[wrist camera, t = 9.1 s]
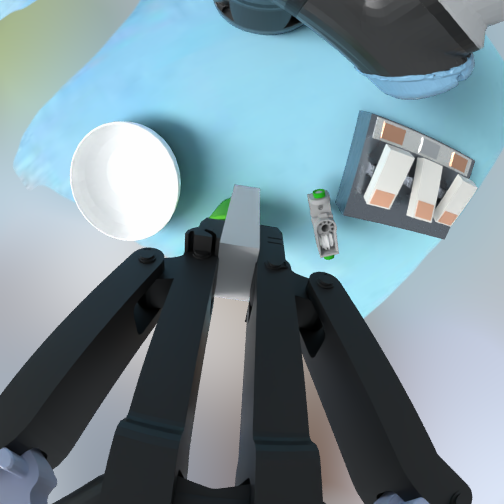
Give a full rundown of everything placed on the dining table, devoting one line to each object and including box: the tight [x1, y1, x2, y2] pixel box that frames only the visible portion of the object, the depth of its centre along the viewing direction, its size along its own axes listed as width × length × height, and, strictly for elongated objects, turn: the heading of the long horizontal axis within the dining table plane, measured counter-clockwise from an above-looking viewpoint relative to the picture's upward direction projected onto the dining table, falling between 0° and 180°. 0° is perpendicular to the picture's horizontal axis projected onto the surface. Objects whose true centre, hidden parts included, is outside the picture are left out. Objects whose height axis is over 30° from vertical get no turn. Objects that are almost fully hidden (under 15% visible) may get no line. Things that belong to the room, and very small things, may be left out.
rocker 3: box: [433, 174, 478, 227], centre depth 34 cm, size 9×4×2 cm, turn 170°
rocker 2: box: [406, 158, 443, 223], centre depth 34 cm, size 9×4×2 cm, turn 171°
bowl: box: [70, 121, 181, 241], centre depth 39 cm, size 20×20×6 cm
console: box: [335, 111, 475, 239], centre depth 37 cm, size 16×22×6 cm
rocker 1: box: [364, 144, 415, 210], centre depth 33 cm, size 9×4×2 cm, turn 171°
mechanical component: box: [307, 189, 339, 260], centre depth 39 cm, size 3×10×10 cm, turn 16°
